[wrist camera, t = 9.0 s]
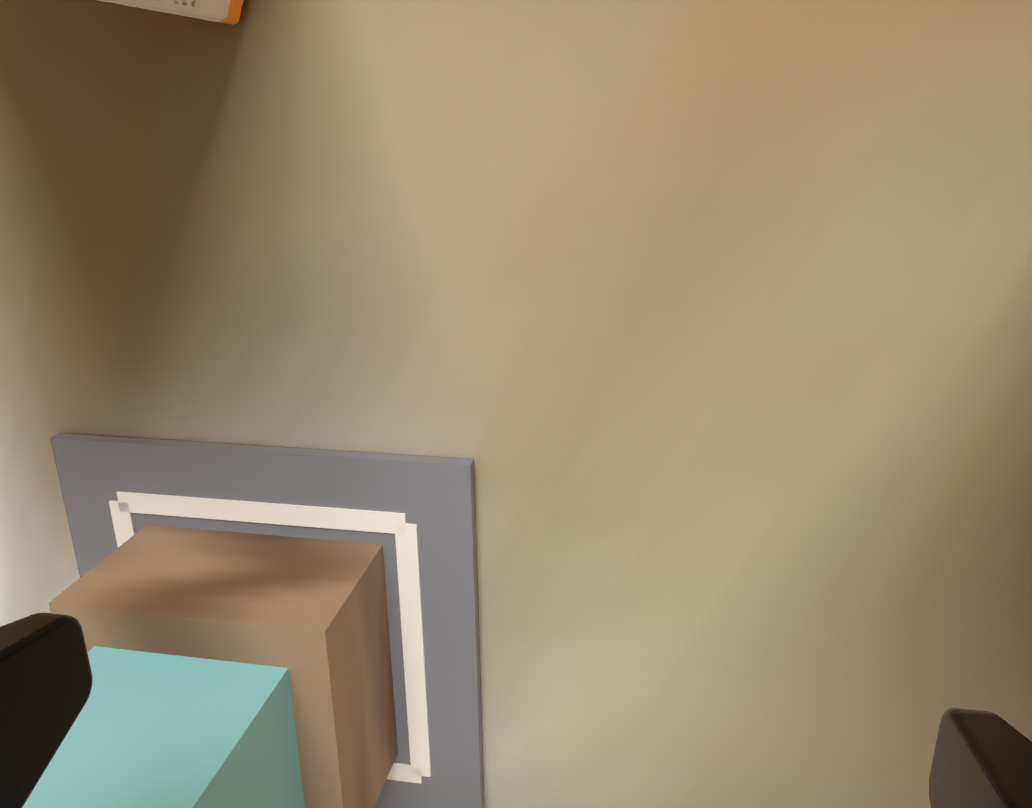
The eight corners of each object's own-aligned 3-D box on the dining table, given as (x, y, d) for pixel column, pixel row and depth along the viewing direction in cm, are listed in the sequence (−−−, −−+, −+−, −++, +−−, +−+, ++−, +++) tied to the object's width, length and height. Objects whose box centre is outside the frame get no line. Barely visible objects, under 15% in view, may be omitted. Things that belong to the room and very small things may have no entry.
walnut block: (382, 544, 23) (325, 631, 19) (397, 752, 25) (349, 866, 21) (146, 524, 24) (48, 603, 20) (182, 725, 26) (100, 827, 22)
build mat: (473, 459, 22) (469, 466, 21) (485, 818, 26) (481, 830, 25) (60, 432, 24) (48, 439, 23) (130, 769, 28) (122, 780, 27)
